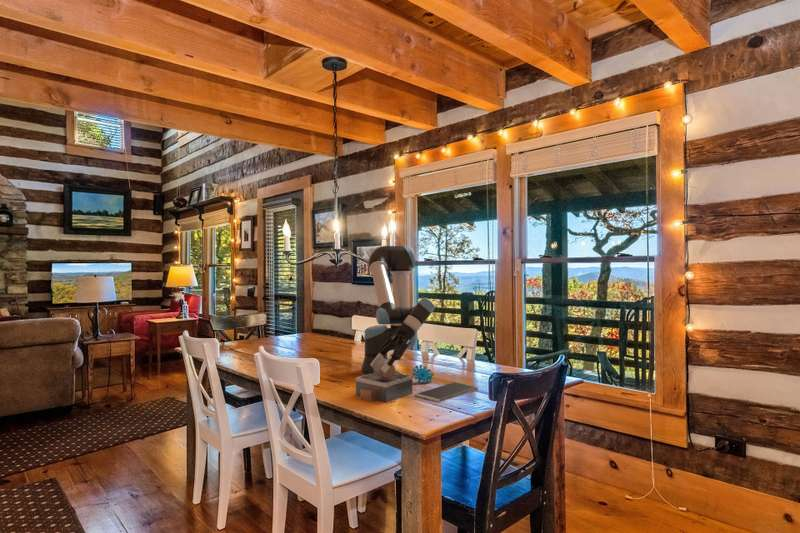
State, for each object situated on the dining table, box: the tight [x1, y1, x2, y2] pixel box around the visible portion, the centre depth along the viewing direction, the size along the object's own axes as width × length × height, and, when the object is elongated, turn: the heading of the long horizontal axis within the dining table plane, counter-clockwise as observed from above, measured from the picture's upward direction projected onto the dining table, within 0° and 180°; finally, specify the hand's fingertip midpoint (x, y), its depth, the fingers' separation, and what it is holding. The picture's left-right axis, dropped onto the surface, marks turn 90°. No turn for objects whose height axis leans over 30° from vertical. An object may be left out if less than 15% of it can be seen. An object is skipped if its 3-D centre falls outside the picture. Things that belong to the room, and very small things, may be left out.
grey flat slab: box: [414, 381, 479, 403], centre depth 201 cm, size 13×27×2 cm, turn 134°
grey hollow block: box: [355, 372, 413, 403], centre depth 199 cm, size 17×20×8 cm
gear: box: [412, 364, 435, 385], centre depth 221 cm, size 11×6×10 cm
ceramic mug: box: [373, 358, 400, 379], centre depth 201 cm, size 11×8×8 cm
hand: (377, 368), depth 198 cm, fingers open, 9 cm apart
